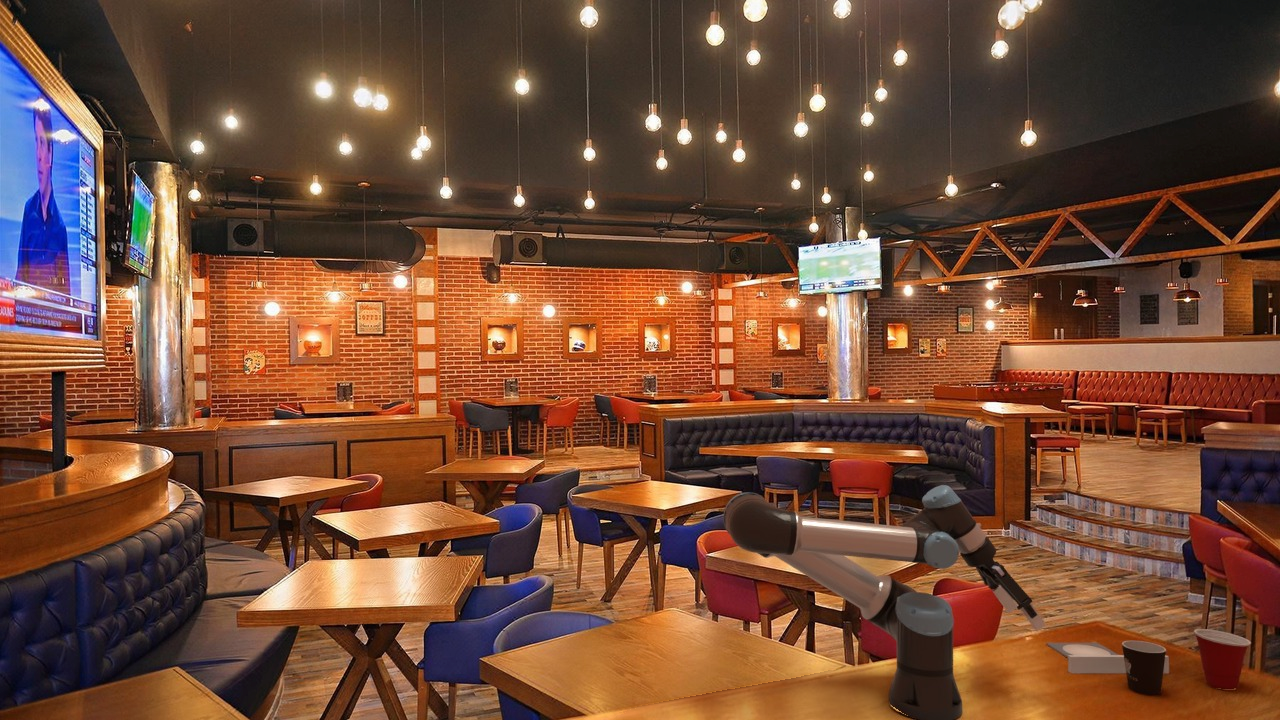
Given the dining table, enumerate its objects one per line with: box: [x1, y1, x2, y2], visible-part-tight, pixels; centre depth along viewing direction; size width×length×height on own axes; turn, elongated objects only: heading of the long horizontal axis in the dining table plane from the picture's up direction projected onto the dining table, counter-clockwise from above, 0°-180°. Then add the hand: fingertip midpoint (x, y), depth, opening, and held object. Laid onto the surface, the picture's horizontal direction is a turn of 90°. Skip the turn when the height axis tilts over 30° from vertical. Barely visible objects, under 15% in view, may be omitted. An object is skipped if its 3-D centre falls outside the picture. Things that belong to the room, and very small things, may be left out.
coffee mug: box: [1121, 640, 1167, 697], centre depth 185 cm, size 12×9×10 cm
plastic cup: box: [1193, 628, 1252, 689], centre depth 186 cm, size 11×11×12 cm
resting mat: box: [1045, 642, 1119, 659], centre depth 209 cm, size 14×14×1 cm
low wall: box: [1067, 654, 1170, 674], centre depth 195 cm, size 24×1×4 cm, turn 90°
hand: (1026, 618), depth 188 cm, fingers open, 13 cm apart
